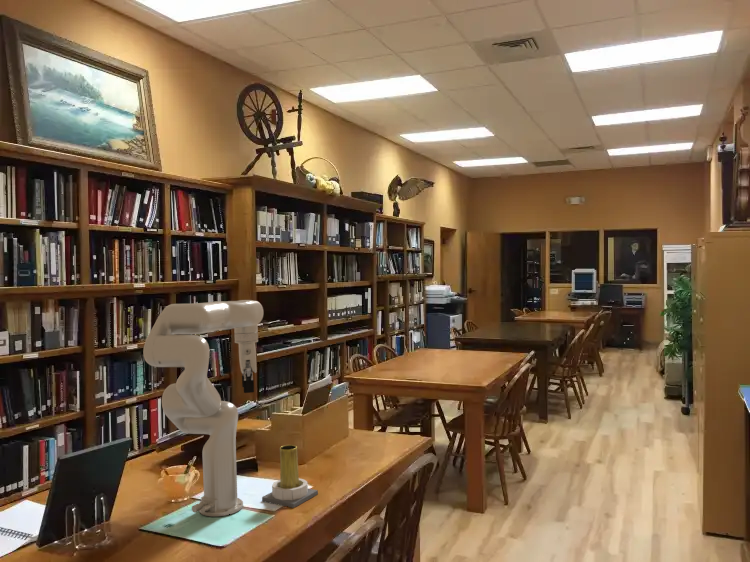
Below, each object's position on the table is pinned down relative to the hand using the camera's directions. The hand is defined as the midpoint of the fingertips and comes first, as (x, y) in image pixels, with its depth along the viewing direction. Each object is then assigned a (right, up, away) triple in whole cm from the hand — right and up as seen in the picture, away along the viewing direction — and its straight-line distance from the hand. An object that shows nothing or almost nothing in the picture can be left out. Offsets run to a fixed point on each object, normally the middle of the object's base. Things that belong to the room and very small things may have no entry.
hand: (248, 389), depth 205 cm
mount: (+16, -30, -15) cm, 37 cm away
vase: (+16, -29, -15) cm, 37 cm away
